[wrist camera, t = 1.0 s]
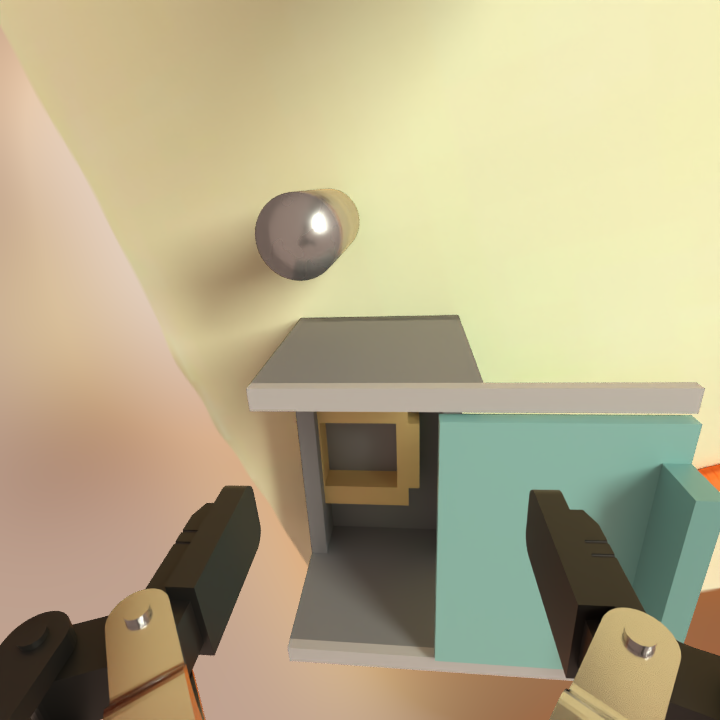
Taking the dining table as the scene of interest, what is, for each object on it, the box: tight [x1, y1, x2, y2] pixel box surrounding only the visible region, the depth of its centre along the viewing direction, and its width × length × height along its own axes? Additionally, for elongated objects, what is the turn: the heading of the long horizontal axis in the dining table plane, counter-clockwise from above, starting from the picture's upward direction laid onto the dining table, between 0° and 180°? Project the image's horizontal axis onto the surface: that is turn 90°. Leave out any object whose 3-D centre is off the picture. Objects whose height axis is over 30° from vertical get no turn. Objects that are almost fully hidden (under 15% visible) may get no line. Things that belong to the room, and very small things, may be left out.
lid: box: [434, 414, 720, 670], centre depth 22 cm, size 16×11×3 cm
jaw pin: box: [255, 189, 359, 281], centre depth 25 cm, size 4×4×9 cm
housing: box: [246, 315, 705, 681], centre depth 29 cm, size 19×20×12 cm
